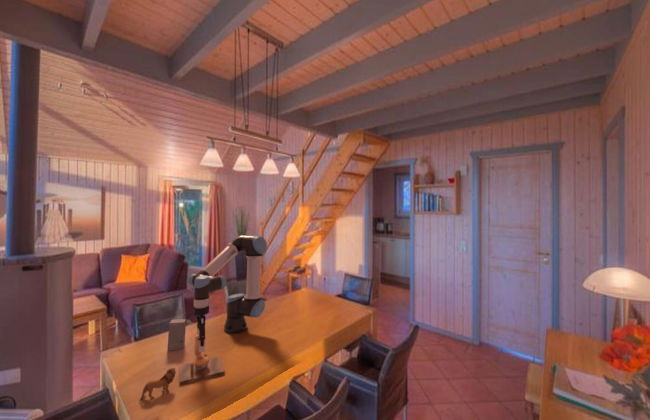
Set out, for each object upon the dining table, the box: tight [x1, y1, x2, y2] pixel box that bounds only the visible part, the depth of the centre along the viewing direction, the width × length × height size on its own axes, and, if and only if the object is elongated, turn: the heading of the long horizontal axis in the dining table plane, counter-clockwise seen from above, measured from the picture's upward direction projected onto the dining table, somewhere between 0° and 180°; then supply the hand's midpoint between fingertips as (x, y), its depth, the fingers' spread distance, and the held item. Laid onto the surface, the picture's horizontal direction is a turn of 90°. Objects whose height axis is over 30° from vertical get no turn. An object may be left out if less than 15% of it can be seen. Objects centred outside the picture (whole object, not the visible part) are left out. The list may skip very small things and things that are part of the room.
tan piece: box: [193, 334, 210, 366], centre depth 146 cm, size 13×7×11 cm, turn 37°
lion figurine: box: [138, 367, 176, 402], centre depth 125 cm, size 15×5×9 cm, turn 143°
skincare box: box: [167, 318, 187, 352], centre depth 168 cm, size 8×7×16 cm
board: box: [178, 353, 226, 386], centre depth 144 cm, size 20×16×6 cm
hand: (200, 346), depth 151 cm, fingers open, 13 cm apart
